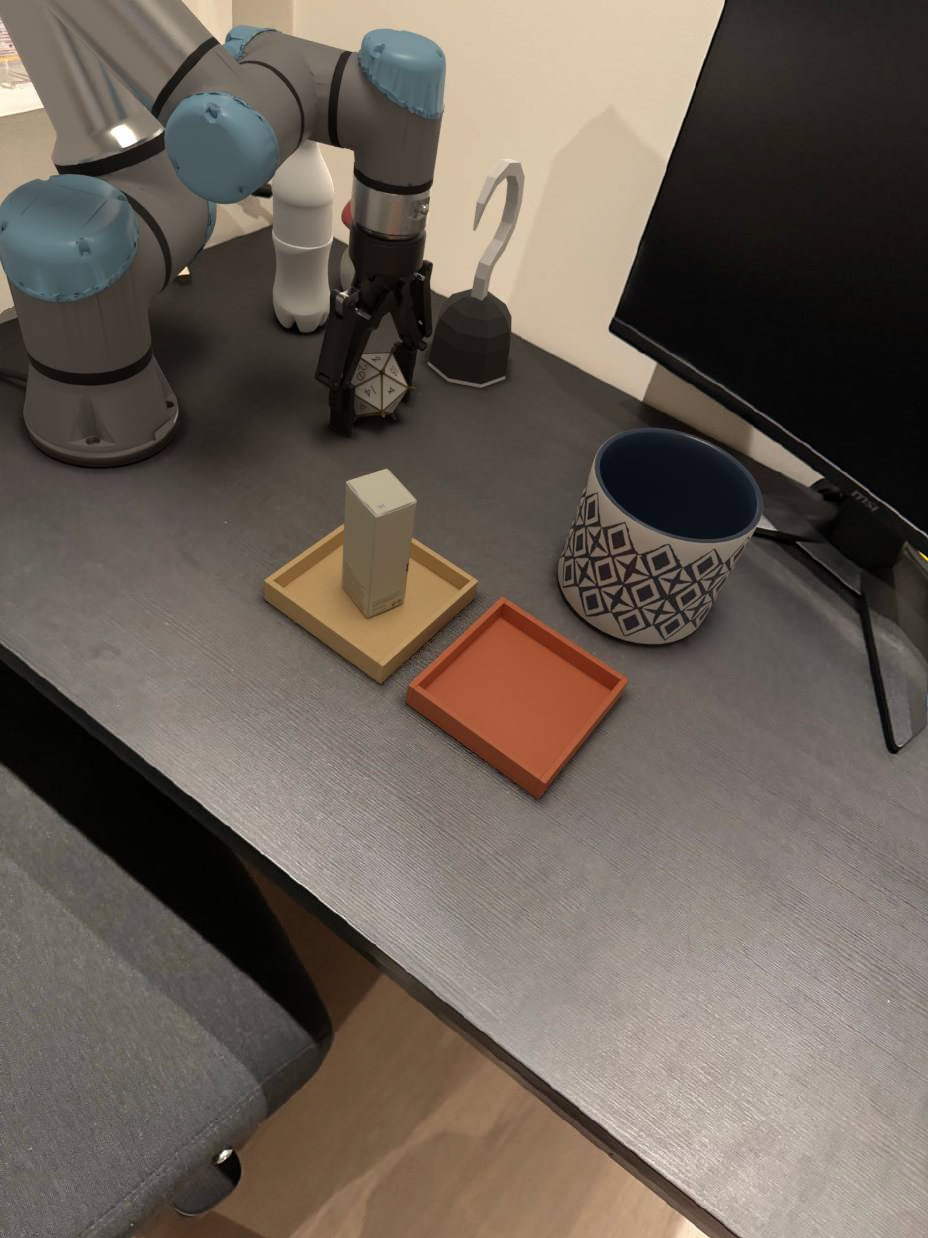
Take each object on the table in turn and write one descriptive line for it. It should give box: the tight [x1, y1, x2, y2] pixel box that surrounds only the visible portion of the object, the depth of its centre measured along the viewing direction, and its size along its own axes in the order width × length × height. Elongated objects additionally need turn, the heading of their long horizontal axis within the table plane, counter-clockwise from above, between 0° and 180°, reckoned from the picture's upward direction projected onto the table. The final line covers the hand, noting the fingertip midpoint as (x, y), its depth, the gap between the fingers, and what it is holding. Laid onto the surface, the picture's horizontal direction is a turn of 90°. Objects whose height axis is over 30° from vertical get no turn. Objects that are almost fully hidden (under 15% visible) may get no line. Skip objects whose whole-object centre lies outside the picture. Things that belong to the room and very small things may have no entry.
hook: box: [427, 158, 526, 389], centre depth 100 cm, size 11×11×25 cm
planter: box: [557, 427, 764, 645], centre depth 82 cm, size 16×16×14 cm
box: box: [342, 468, 418, 618], centre depth 75 cm, size 5×4×13 cm
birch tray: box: [263, 523, 479, 684], centre depth 80 cm, size 14×14×3 cm
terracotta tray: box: [405, 596, 630, 800], centre depth 75 cm, size 14×14×3 cm
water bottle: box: [270, 140, 336, 333], centre depth 100 cm, size 7×7×25 cm
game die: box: [342, 345, 417, 423], centre depth 96 cm, size 9×8×10 cm
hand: (370, 411), depth 99 cm, fingers closed on game die, 10 cm apart
